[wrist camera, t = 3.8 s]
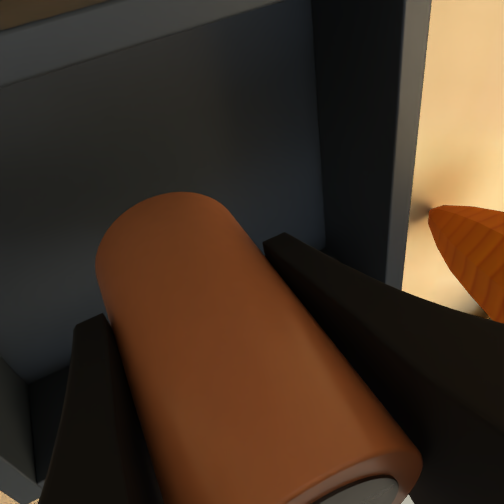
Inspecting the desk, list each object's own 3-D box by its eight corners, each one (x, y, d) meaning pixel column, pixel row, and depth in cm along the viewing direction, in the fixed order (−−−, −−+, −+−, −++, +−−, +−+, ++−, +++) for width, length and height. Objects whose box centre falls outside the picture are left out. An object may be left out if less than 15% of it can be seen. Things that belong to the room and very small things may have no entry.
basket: (16, 392, 17) (23, 507, 14) (-308, 68, 9) (-481, 166, 6) (334, 245, 21) (400, 310, 17) (319, -95, 12) (442, -93, 9)
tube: (126, 333, 13) (226, 636, 8) (67, 229, 10) (157, 583, 5) (248, 276, 14) (415, 512, 8) (223, 167, 11) (442, 411, 6)
